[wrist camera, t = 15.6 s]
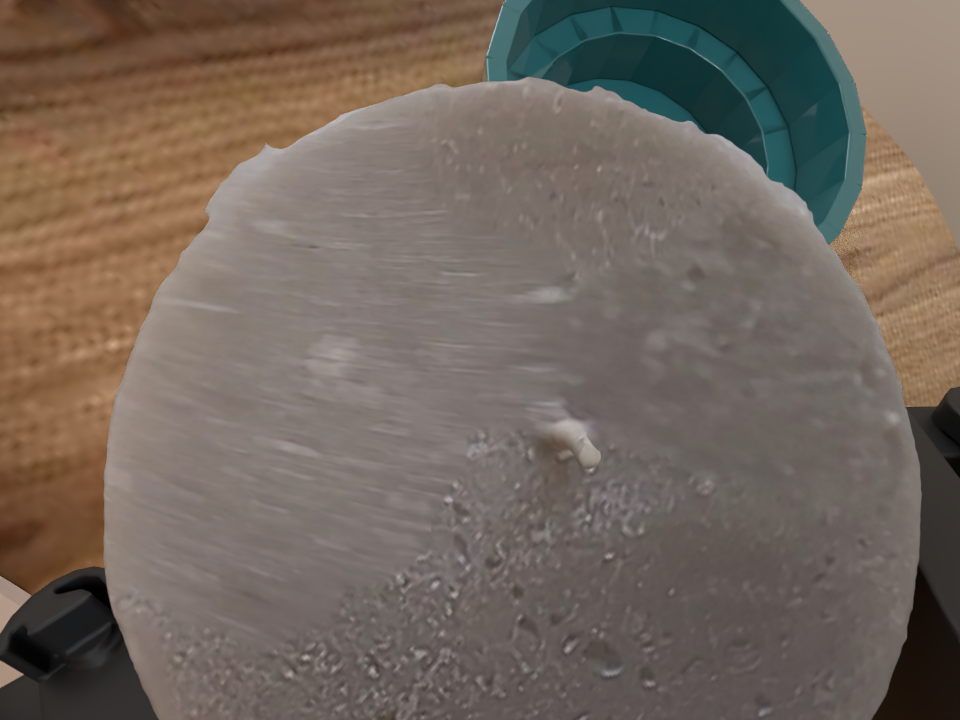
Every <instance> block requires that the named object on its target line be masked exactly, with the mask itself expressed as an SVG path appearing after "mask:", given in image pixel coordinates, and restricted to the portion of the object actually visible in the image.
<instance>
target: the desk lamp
mask: <svg viewBox="0 0 960 720" xmlns="http://www.w3.org/2000/svg"><path fill="white" fill-rule="evenodd" d="M31 596H32V595H30V594H29V593H27V592H25V591H24V590H22V589H21V588H19V587H17V586H16V585H14V584H13V583H11V582H9V581H8V580H6V579H5V578H3V577H2V576H0V633H1V632H2V630H3V629H4V627H5V625H6V624H7V622H8V621H9V619H10V618H11V616H12V615H13V614H14V613H15V612H16V611H17V610H18V609H19V608H20V607H21V606H22V605H23V604H24V603H25V602H26V601H27V600H28V599H29V598H30V597H31ZM22 675H24V674H22V673H21V672H19V671H17V670H15V669H14V668H12V667H10V666H9V665H7V664H5V663H4V662H2V661H0V688H1V687H3V686H5V685H6V684H8V683H10V682H12V681H14V680H15V679H17V678H19V677H21V676H22Z"/></svg>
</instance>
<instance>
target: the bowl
mask: <svg viewBox="0 0 960 720" xmlns="http://www.w3.org/2000/svg"><path fill="white" fill-rule="evenodd" d="M526 77H533V78H538V79H544V80H549V81H553V82H555V83H557V84H559V85H561V86H563V87H566V88H568V89H574V90H577V91H580V92H588V91H591V90H592V89H593V88H594V87H595V86H599V87H601V88H603V89H605V90H606V91H613V92H615V93H616V94H617V95H619V96H620V97H621V98H622V99H623V100H626V101H630V102H632V103H634V104H636V105H637V106H639V107H640V108H641V109H646V110H647V111H648V112H651V113H655V114H658V115H661V116H665V117H666V118H669V119H671V120H673V121H677V122H686V121H692V122H693V123H694V124H695V125H697V127H698V129H699V130H701V131H702V132H703V133H705V134H718V135H720V136H722V137H724V138H725V139H727V140H729V141H731V142H732V143H733V144H734V145H735V146H737V147H738V148H739V149H741V150H743V151H744V152H746V153H747V154H749V155H751V157H752V158H753V159H754V160H755V161H756V162H757V163H758V164H759V165H760V166H761V167H762V168H763V171H764V173H765V175H766V176H767V177H768V178H769V179H770V180H771V181H774V182H779V183H783V185H784V186H785V187H787V188H789V189H791V190H792V191H794V192H795V193H796V194H798V196H799V197H800V198H801V199H802V200H803V201H805V202H806V204H807V208H808V210H809V211H811V212H812V214H813V221H814V224H815V226H816V227H817V229H818V230H819V231H820V232H821V233H822V235H823V237H824V238H825V240H826V242H827V244H828V245H829V244H830V243H831V242H832V241H833V240H835V239H836V238H837V237H838V236H839V235H840V233H841V231H842V229H843V227H844V225H845V223H846V221H847V219H848V216H849V214H850V212H851V210H852V208H853V206H854V204H855V202H856V200H857V198H858V196H859V194H860V192H861V189H862V182H863V171H864V160H865V149H866V138H867V137H866V134H867V133H866V128H865V124H864V119H863V115H862V110H861V106H860V101H859V97H858V92H857V88H856V84H855V83H854V80H853V77H852V76H851V74H850V72H849V70H848V68H847V66H846V64H845V63H844V61H843V59H842V57H841V55H840V53H839V51H838V50H837V48H836V46H835V44H834V42H833V40H832V38H831V37H830V35H829V34H828V33H827V30H826V29H825V28H824V27H823V26H822V25H821V24H820V22H819V21H818V20H817V19H816V18H815V17H814V16H813V15H812V14H811V13H810V12H809V10H808V9H807V8H806V7H805V6H804V5H803V4H802V3H801V1H800V0H506V1H505V2H504V3H503V5H502V7H501V10H500V13H499V16H498V19H497V22H496V25H495V29H494V32H493V35H492V38H491V41H490V45H489V48H488V51H487V54H486V58H485V64H484V69H483V75H482V81H481V82H491V81H496V82H503V81H518V80H521V79H524V78H526Z"/></svg>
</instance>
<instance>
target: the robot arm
mask: <svg viewBox="0 0 960 720" xmlns="http://www.w3.org/2000/svg"><path fill="white" fill-rule="evenodd" d="M906 409H907V413H908V417H909V420H910V425H911V429H912V434H913V437H914V440H915V448H916V451H917V454H918V460H919V463H920V479H921V492H922V497H921V513H920V518H921V521H920V533H921V535H920V547H919V562H918V566H917V575H916V579H915V590H914V597H913V609H912V611H911V613H910V617H909V622H908V625H907V639H906V641H905V642H904V644H903V646H902V649H901V653H900V656H899V659H898V661H897V664H896V666H895V668H894V671H893V674H892V677H891V680H890V683H889V688H888V691H887V694H886V696H885V698H884V699H883V701H882V703H881V704H880V706H879V708H878V710H877V711H876V713H875V715H874V716H873V718H872V720H960V387H956V388H951V389H950V390H949V391H948V392H947V393H946V395H945V396H944V397H943V399H942V400H941V402H940V403H939V405H938V406H937V407H906ZM0 661H2V662H4V663H5V664H7V665H9V666H10V667H12V668H14V669H15V670H17V671H19V672H21V673H22V674H24V675H22V676H21V677H19V678H17V679H15V680H14V681H12V682H10V683H8V684H6V685H5V686H3V687H1V688H0V720H159V719H158V717H157V716H156V714H155V712H154V710H153V708H152V705H151V703H150V700H149V698H148V696H147V694H146V693H145V691H144V690H143V688H142V685H141V682H140V679H139V676H138V674H137V672H136V670H135V669H134V664H133V662H132V660H131V659H130V655H129V652H128V649H127V646H126V644H125V641H124V638H123V635H122V632H121V630H120V629H119V625H118V623H117V621H116V619H115V617H114V615H113V612H112V608H111V604H110V600H109V595H108V590H107V582H106V575H105V568H100V567H95V566H94V567H89V568H84V569H80V570H75V571H73V572H71V573H68V574H66V575H64V576H62V577H60V578H58V579H56V580H54V581H52V582H51V583H49V584H48V585H46V586H45V587H44V588H42V589H41V590H39V591H38V592H37V593H35V594H34V595H32V596H31V597H30V598H29V599H28V600H27V601H26V602H25V603H24V604H23V605H22V606H21V607H20V608H19V609H18V610H17V611H16V612H15V613H14V614H13V615H12V616H11V618H10V619H9V621H8V622H7V624H6V625H5V627H4V629H3V630H2V632H1V633H0Z"/></svg>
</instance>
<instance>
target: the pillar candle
mask: <svg viewBox="0 0 960 720" xmlns="http://www.w3.org/2000/svg"><path fill="white" fill-rule="evenodd" d="M205 213H206V214H208V216H209V222H208V223H207V225H206V227H205V228H204V230H203V231H202V232H200V233H199V234H198V235H197V236H196V237H195V238H194V239H192V241H191V243H190V245H189V247H188V248H187V249H185V250H184V251H182V252H181V256H180V259H179V261H178V264H177V266H176V267H175V269H174V270H173V272H172V273H171V274H170V275H169V276H168V277H167V278H166V279H165V280H164V281H163V283H162V284H161V285H160V287H159V288H158V290H157V293H156V295H155V296H154V298H153V300H152V306H151V309H150V311H149V315H148V316H147V318H146V319H145V321H144V323H143V325H142V327H141V328H140V330H139V334H138V337H137V339H136V341H135V345H134V349H133V350H132V352H131V355H130V357H129V360H128V363H127V366H126V370H125V374H124V377H123V379H122V382H121V384H120V387H119V389H118V391H117V393H116V395H115V400H114V406H113V411H112V416H111V420H110V425H109V437H108V443H107V448H106V450H107V460H106V466H105V470H104V484H105V487H104V524H105V530H104V554H103V559H104V563H105V575H106V582H107V590H108V595H109V600H110V604H111V608H112V612H113V615H114V617H115V619H116V621H117V623H118V625H119V629H120V630H121V632H122V635H123V638H124V641H125V644H126V646H127V649H128V652H129V655H130V659H131V660H132V662H133V664H134V669H135V670H136V672H137V674H138V676H139V679H140V682H141V685H142V688H143V690H144V691H145V693H146V694H147V696H148V698H149V700H150V703H151V705H152V708H153V710H154V712H155V714H156V716H157V717H158V719H159V720H872V718H873V716H874V715H875V713H876V711H877V710H878V708H879V706H880V704H881V703H882V701H883V699H884V698H885V696H886V694H887V691H888V688H889V683H890V680H891V677H892V674H893V671H894V668H895V666H896V664H897V661H898V659H899V656H900V653H901V649H902V646H903V644H904V642H905V641H906V639H907V625H908V622H909V617H910V613H911V611H912V609H913V597H914V590H915V579H916V575H917V566H918V562H919V547H920V535H921V533H920V521H921V518H920V513H921V497H922V492H921V479H920V463H919V460H918V454H917V451H916V448H915V440H914V437H913V434H912V429H911V425H910V420H909V417H908V413H907V409H906V407H905V403H904V397H903V392H902V384H901V382H900V381H899V379H898V376H897V373H896V370H895V367H894V363H893V361H892V359H891V358H890V356H889V354H888V352H887V349H886V345H885V342H884V340H883V338H882V336H881V333H880V327H879V325H878V323H877V321H876V320H875V318H874V317H873V314H872V312H871V309H870V307H869V306H868V304H867V302H866V299H865V295H864V294H863V293H862V291H861V290H860V288H859V286H858V285H857V283H856V282H855V281H854V279H853V278H852V277H851V276H850V275H849V274H848V272H847V271H846V270H845V268H844V267H843V265H842V262H841V261H840V258H839V257H838V256H837V254H836V253H835V252H834V251H833V250H832V248H831V247H830V246H829V245H828V244H827V242H826V240H825V238H824V237H823V235H822V233H821V232H820V231H819V230H818V229H817V227H816V226H815V224H814V221H813V214H812V212H811V211H809V210H808V208H807V204H806V202H805V201H803V200H802V199H801V198H800V197H799V196H798V194H796V193H795V192H794V191H792V190H791V189H789V188H787V187H785V186H784V185H783V183H779V182H774V181H771V180H770V179H769V178H768V177H767V176H766V175H765V173H764V171H763V168H762V167H761V166H760V165H759V164H758V163H757V162H756V161H755V160H754V159H753V158H752V157H751V155H749V154H747V153H746V152H744V151H743V150H741V149H739V148H738V147H737V146H735V145H734V144H733V143H732V142H731V141H729V140H727V139H725V138H724V137H722V136H720V135H718V134H705V133H703V132H702V131H701V130H699V129H698V127H697V125H695V124H694V123H693V122H692V121H686V122H677V121H673V120H671V119H669V118H666V117H665V116H661V115H658V114H655V113H651V112H648V111H647V110H646V109H641V108H640V107H639V106H637V105H636V104H634V103H632V102H630V101H626V100H623V99H622V98H621V97H620V96H619V95H617V94H616V93H615V92H613V91H606V90H605V89H603V88H601V87H599V86H595V87H594V88H593V89H592V90H591V91H588V92H580V91H577V90H574V89H568V88H566V87H563V86H561V85H559V84H557V83H555V82H553V81H549V80H544V79H538V78H533V77H526V78H524V79H521V80H518V81H503V82H496V81H491V82H481V83H477V84H470V85H466V86H462V87H458V88H452V87H450V86H447V85H445V84H437V85H433V86H432V87H430V88H426V89H422V90H418V91H415V92H412V93H409V94H406V95H403V96H399V97H392V98H390V99H388V100H387V101H385V102H382V103H379V104H375V105H371V106H368V107H365V108H359V109H356V110H354V111H352V112H349V113H346V114H341V115H340V116H339V117H338V118H337V119H336V120H334V121H332V122H329V123H328V124H327V125H326V126H324V127H322V128H319V129H317V130H315V131H314V132H313V133H310V134H308V135H306V136H304V137H302V138H301V139H299V140H298V141H296V142H295V143H294V144H292V145H291V146H290V147H288V148H285V149H276V148H272V147H270V146H269V145H267V144H266V143H265V147H264V149H263V150H262V151H261V152H260V154H258V155H257V156H255V157H254V158H252V159H249V160H247V161H244V162H242V163H239V164H238V166H237V167H236V168H235V169H234V170H233V171H232V173H231V174H230V176H229V177H228V178H227V179H226V180H224V181H223V182H221V184H220V185H219V187H218V189H217V190H216V192H215V194H214V195H213V197H212V198H211V199H210V201H209V203H208V205H207V207H206V209H205Z"/></svg>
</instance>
